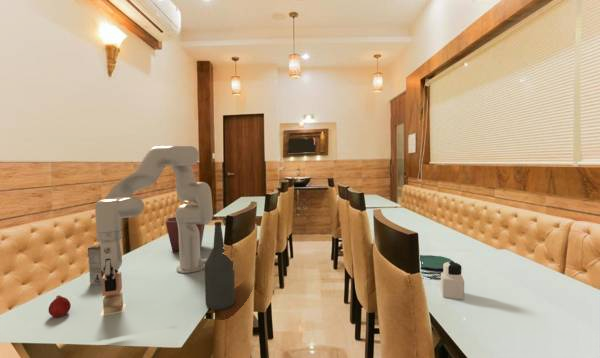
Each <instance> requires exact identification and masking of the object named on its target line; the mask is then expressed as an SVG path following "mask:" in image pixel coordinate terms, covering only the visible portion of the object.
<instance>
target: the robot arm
mask: <svg viewBox="0 0 600 358" xmlns="http://www.w3.org/2000/svg"><path fill="white" fill-rule="evenodd" d="M199 159H200V152H199V150H198V148H196V147H195V146H194V145H183V146H182V145H160V146H153V147H151V148H150V149H149V151H148V152H147V153H146V155H145V156H144V157H143V159H142V161H141V162H140V163H139V165H138V166H137V168H136V169H135V171H134V172H132V173H130V174H129V175H127V176H125V177H124V178H122V180H120V181H118V182H117V183H116V184H115V185H113V187H112V188H111V189H110V191H109V192H108V193H107V195H106V196H105V197H104V199H100V200H98V201H96V202H95V205H94V210H95V211H94V213H95V229H96V231H95V232H96V233H95V234H96V242H97V243H100V244H101V248H100V249H101V267H102V271H103V272H105V291H106V292H108V291H115V290H116V278H115V272H119V269H120V268H121V267H122V263H123V257H122V256H123V254H122V253H123V252H122V245H121V240H123V224H122V223H123V221H122V219H125V218H126V219H127V218H136V217H138V216H140V215H141V214H142V213H143V211H144V209H145V204H144V201H143V200H142V199H141V198H139V197H136V196H131V195H132V194H134V193H135V192H138V191H140V190H143V189H147V188H149V187H151V186H153V185H155V184H156V182H157V180H158V179H159V177H160V176H161V174H162V173H163V171H164V169H165V168H166V167H170V168H171V169H172V171H173V174H174V178H175V189H176V190H175V191H176V195H177V198H178V200H179V201H181V202H185V204H180V205H179V206H178V207H177V208H176V210H175V214H174V215H175V216H174V217H176V221H177V225H178V232H179V253H178V254H179V265H178V266H177V267H176V272H178V273H182V274H189V273H196V272H200V271H201V270H203V269H204V264H205V262H206V260H207V259H208V258H204V259H203V258H202V257H201V248H200V234H199V229H198V227H197V226H196V224H205V225H209V224H210V223H211V222H212V220H213V216H214V211H213V198H212V190H211V187H210V185H209V183H207V182H204V181H196V179H195V172H194V168H193V165H196V164H197V163H198V161H199ZM186 202H187V203H186Z"/></svg>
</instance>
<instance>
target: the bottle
mask: <svg viewBox="0 0 600 358" xmlns="http://www.w3.org/2000/svg"><path fill="white" fill-rule="evenodd" d="M222 224H223V223H222V221H216V222H214V235H213V236H214V237H213V247H212V250H211V251H210V253H209V255H208V257H207V258H206V259H207V260H206V262H205V264H204V268H203V269H204V291H205V292H204V294H205V295H204V296H205V305H206V307H207V309H209V310H213V311H220V310H226V309H228V308H230V307H231V308H232V306H233V305H234V303H235V300H236V290H235V289H236V287H235V269H234V270H233V261H234V260H233V261H231V260H230V259H229V258H228V257H227V256H226V255H224V254H222V253H223V252H224V251H225V250H224V249H223V247H224V248H225V243H224V237H223V230H222V228H223V227H222Z"/></svg>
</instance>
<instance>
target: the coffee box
mask: <svg viewBox="0 0 600 358" xmlns="http://www.w3.org/2000/svg"><path fill="white" fill-rule="evenodd" d="M100 248H101V243H99V244H97V245H93V246H90V247H88V248H87V255H88V270H89V284H90V285H94V286H95V285H97V286H102V277H103V276H104V274H105V272H103V271H102V267H101V249H100Z"/></svg>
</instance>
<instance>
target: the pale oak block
mask: <svg viewBox="0 0 600 358" xmlns="http://www.w3.org/2000/svg"><path fill="white" fill-rule="evenodd" d="M123 301H124V299H123V291H122V290H121V292H120V293H119V294H113V295H107V296H103V298H102V304H103V305H102V307H103V308H102V310H103V309H104V314H107V313H113V312H119V311H121V309H122V306H123V304H124V303H123Z"/></svg>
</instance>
